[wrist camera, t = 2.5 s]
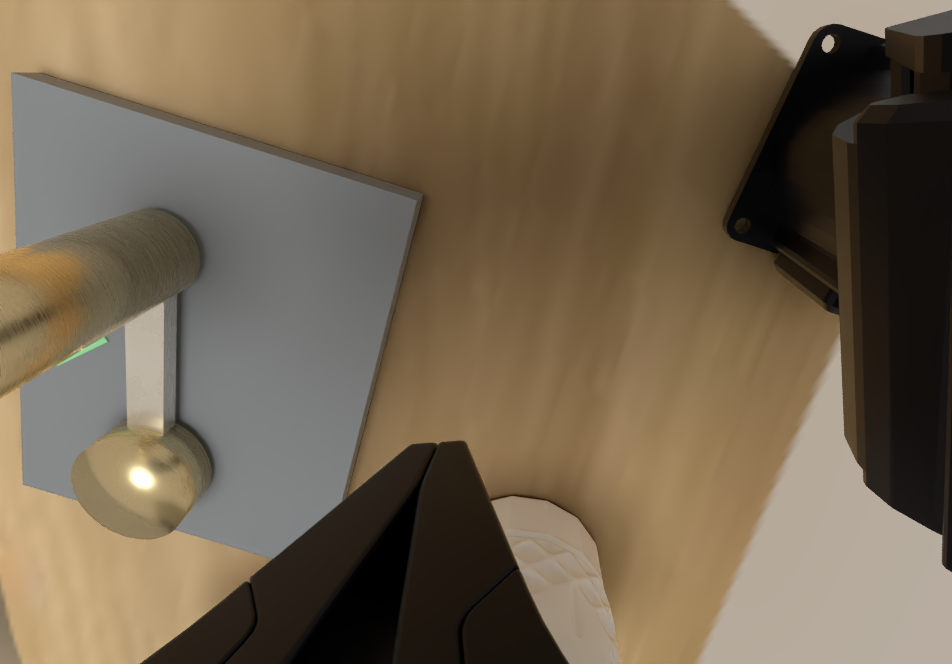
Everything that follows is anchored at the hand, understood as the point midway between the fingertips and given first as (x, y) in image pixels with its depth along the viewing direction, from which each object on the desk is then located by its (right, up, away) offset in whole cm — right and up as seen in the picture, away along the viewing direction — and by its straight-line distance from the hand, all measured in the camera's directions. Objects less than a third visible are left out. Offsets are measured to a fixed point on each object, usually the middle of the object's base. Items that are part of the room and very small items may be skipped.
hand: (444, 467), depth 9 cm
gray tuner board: (-10, +1, +15) cm, 18 cm away
